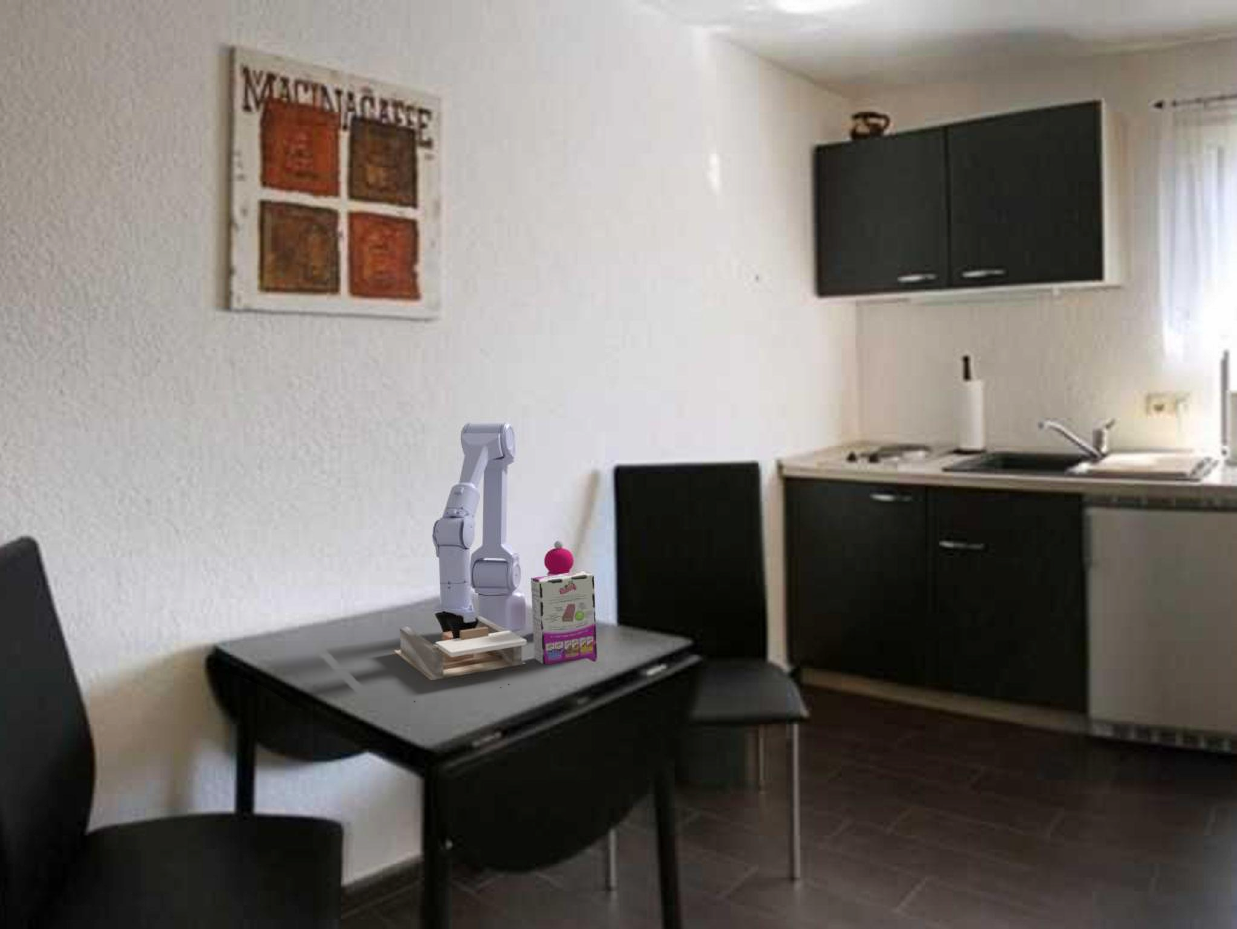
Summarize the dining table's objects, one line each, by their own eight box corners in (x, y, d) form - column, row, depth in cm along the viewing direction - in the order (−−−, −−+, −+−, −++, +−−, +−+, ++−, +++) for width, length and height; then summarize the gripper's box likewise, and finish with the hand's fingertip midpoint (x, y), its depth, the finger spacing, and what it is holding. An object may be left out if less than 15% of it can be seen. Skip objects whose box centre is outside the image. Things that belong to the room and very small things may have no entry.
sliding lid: (508, 634, 181) (508, 623, 181) (526, 644, 174) (526, 632, 174) (435, 646, 174) (435, 634, 174) (451, 657, 167) (450, 644, 167)
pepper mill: (543, 633, 205) (540, 538, 203) (577, 632, 205) (575, 537, 203) (543, 642, 197) (540, 544, 196) (579, 641, 198) (577, 543, 196)
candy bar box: (586, 654, 189) (584, 569, 187) (597, 660, 184) (595, 574, 183) (532, 663, 184) (529, 576, 182) (543, 669, 179) (540, 581, 178)
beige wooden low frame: (481, 641, 199) (480, 613, 199) (526, 668, 180) (525, 637, 180) (394, 655, 190) (392, 626, 190) (431, 685, 171) (430, 652, 171)
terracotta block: (465, 652, 188) (464, 629, 188) (473, 657, 184) (472, 634, 184) (442, 655, 186) (441, 632, 186) (450, 661, 182) (449, 637, 182)
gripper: (422, 576, 188) (424, 646, 189) (448, 590, 176) (450, 664, 177) (457, 572, 192) (459, 640, 193) (485, 585, 179) (487, 658, 180)
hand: (457, 652), depth 185 cm, fingers closed on terracotta block, 4 cm apart
